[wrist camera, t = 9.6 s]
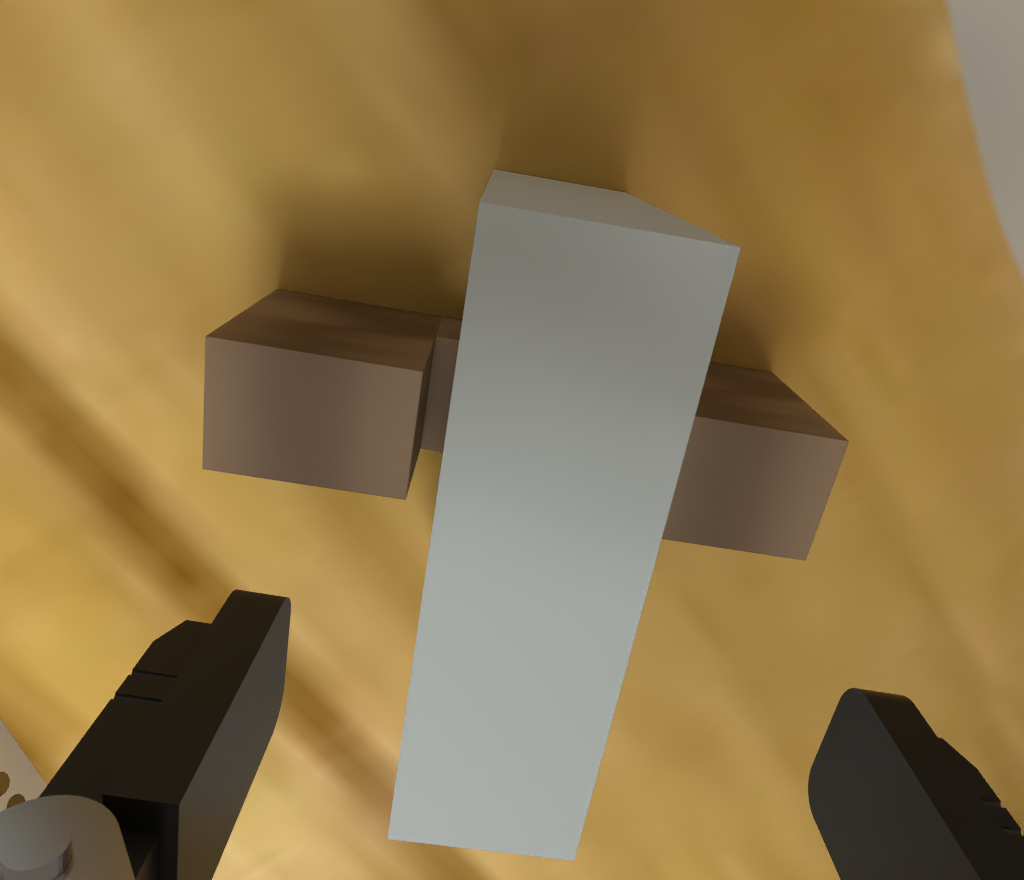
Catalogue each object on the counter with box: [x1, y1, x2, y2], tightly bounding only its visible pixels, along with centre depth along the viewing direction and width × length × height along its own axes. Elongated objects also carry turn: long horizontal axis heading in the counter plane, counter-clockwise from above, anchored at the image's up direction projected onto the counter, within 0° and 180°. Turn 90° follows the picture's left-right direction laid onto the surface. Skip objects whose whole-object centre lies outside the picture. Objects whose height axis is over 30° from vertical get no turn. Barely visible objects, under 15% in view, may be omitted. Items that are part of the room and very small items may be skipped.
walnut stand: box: [203, 289, 849, 561], centre depth 22 cm, size 16×4×6 cm, turn 80°
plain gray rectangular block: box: [387, 169, 741, 861], centre depth 19 cm, size 4×13×12 cm, turn 171°
